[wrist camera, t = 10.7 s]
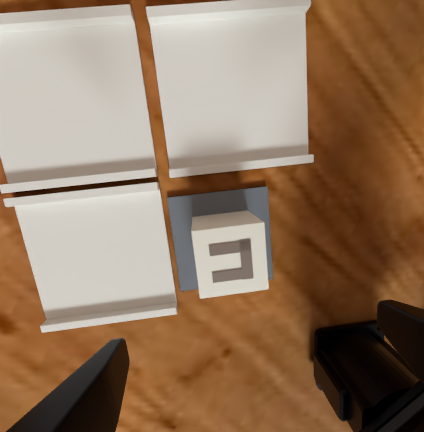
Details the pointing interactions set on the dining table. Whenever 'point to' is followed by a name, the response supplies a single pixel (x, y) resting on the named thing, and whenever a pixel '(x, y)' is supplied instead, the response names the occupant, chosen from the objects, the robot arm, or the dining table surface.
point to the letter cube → (229, 253)
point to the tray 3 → (232, 84)
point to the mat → (209, 205)
